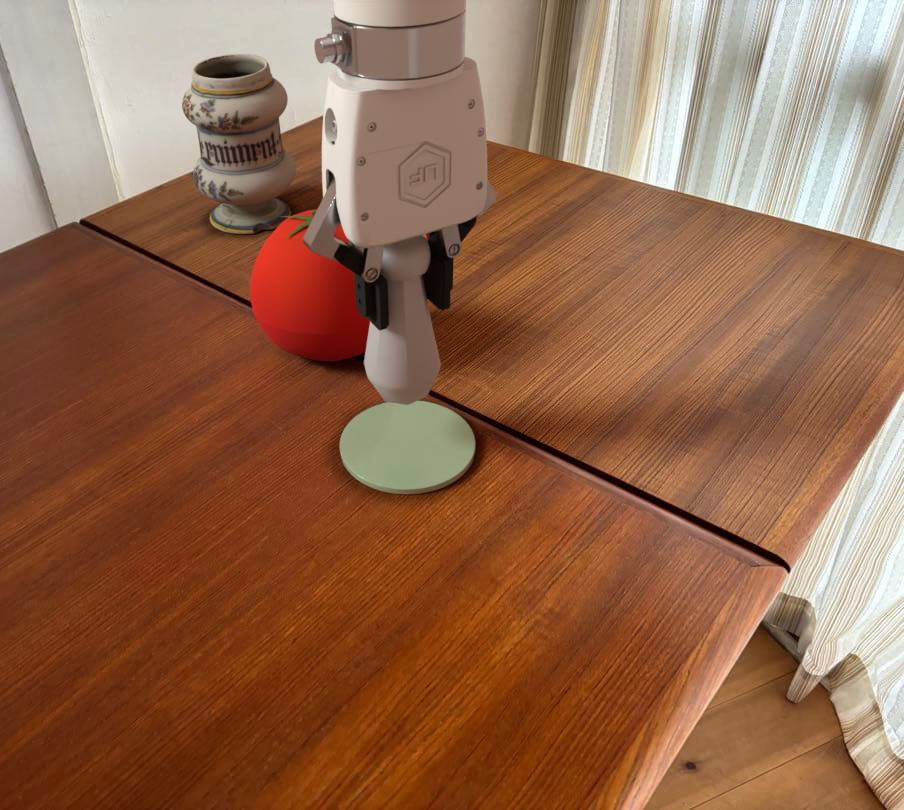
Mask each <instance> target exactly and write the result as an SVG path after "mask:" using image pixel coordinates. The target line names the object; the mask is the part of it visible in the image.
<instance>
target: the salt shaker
mask: <svg viewBox="0 0 904 810" xmlns="http://www.w3.org/2000/svg"><path fill="white" fill-rule="evenodd" d="M430 257H431V253H430V248H429V244H428V239H427V237H425V236H424V235H420V236H417V237H413V238H410V239H406V240H402V241H399V242H395V243H392V244H388V245H385V246H384V252H383V258H382V264H381V270H380V274H381V275H382V276H383V277H384V278H386V280H387V282H388V307H389V326H387V329H384V330H381V331H379V330H378V329H377V328H376V327H375V326H374V325H373V324H372V323H371V322H370V325H369V332H368V339H367V345H366V352H364V353H365V354H364V358H363V359H364V360H363V365H364V369H365V373H366V376H367V377H366V378H367V379H368V380H369V382H370V383H371V384H372V386H373V387H374V388H375V389H376V391H377V392H378V394H379V395H380V396H381V398H382V399H383V401H384V403H386V402H391V403H397V404H403V405H409V404H411V403H414V402H416V401H421V400H422V399H425V398H427V397H428V396H429V393H430V391H431V389H432V388H433V386H434V384H435V381H436V379H437V378H438V375H439V373H440V370H441V367H442V363H441V359H440V353H439V350H438V344H437V340H436V337H435V331H434V326H433V322H432V318H431V314H430V307H429V302H428V299H427V297H426V292H425V287H424V282H423V277H422V274H424V273H425V272H426V270H427V269H428V267H429V264H430Z"/></svg>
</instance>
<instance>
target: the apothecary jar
mask: <svg viewBox="0 0 904 810" xmlns="http://www.w3.org/2000/svg"><path fill="white" fill-rule="evenodd" d="M288 98H289V97H288V93H287V90H286V88H285V87H284V85H283V84H282V83H281V82H280V81H279V80H278V79H276V78H275V77H273V74H272V72H271V68H270V64H269V62H268V61H267V60H266V58H264V57H262V56H259V55H256V54H250V53H229V54H223V55H217V56H213V57H212V56H211V57H209V58H206V59H204V60H201V61H199V62H198V63H196V64H195V65H193V67H192V70H191V85H190V86H189V87H188V89H187V90H186V91H185V93H184V95H183V97H182V101H181V109H182V112H183V115H184V116H185V118H186V119H187V120H188V121H189V122H190V123H191V124H192V125H194V126H195V127H196V132H197V138H198V143H199V152H200V157H199V158H198V159H197V161H196V163H195V165H194V168H193V174H192V176H193V182H194V185H195V187H196V189H197V190H198V191H199V192H200V193H201V194H202V195H204V196H205V197H206V198H208V199H210V200H212V201H214V202H216V203H218V204H219V203H220V204H219V205H217V206H216V207H215V208H213V209H212V211H211V212H210V214H209V222H210V224H211V225H212V226H213V227H214V228H215V229H217V230H219V231H221V232H223V233H226V234H233V235H253V234H256V233H259V232H261V231H265V230H267V231H271V230H275V229H276V228H277V227H278V226H279V225H280V224H281V223H282V222H283V221H285V220H286V219H287V218H289V217H279V216H291V214H292V211H291V208H290V206H289V205H288V204H287V203H286V202H285V201H283V200H281V199H280V198H277V197H279V196H280V195H281V194H283V193H285V192H286V191H287V190H288V189H289V187H291V185H292V183H293V182H294V180H295V177H296V172H297V166H296V162H295V160H294V158H293V157H292V155H291V154H290V153H289V152H288V151H287V150H286V149H285V148H284V145H283V139H282V132H281V124H280V123H281V122H280V117H281V116H282V115H283V113H284V112H285V110H286V108H287V105H288V101H289V100H288Z"/></svg>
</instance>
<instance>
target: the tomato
mask: <svg viewBox="0 0 904 810" xmlns="http://www.w3.org/2000/svg"><path fill="white" fill-rule="evenodd" d="M317 209H318V208H316V209H309V210H305V211H301V212H299V213H296V214H293V215H290V216H279V217H289V218H287V219H286V220H285V221H283V222H282V223H281V224H280V225H279V226H278V227H277V228H275V229H274V231H272V233H271V234H269V236H268V237H267V238H266V240H265V241H264V242H263V245H262V247H261V249H260V251H259V252H258V255H257V257H256V259H255V262H254V266H253V268H252V272H251V276H250V285H249V286H250V287H249V299H250V303H251V308H252V312H253V316H254V317H255V320H256V322H257V324H258V326H259V327H260V329H261V330H262V332H263V333H264V334H265V335H266V337H267V338H268V339H269V340H270V341H271V342H272V343H273V344H274V345H276V346H277V347H278V348H280V349H281V350H282V351H284V352H287V353H288V354H290V355H294V356H296V357H301V358H304V359H309V360H313V361H320V362H336V361H342V360H347V359H351V358H354V357H357V356H360V355H363V354H364V353H365V352H366V345H367V339H368V332H369V325H370V321H369V320H368V319H367V318H366V317H363V316H362V315H361V314H360V313H359V312H358V310H357V307H356V299H355V282H354V272H352V271H351V270H349V269H348V268H346V267H345V266H343V265H342V264H340V263H339V262H337V261H335V260H331V259H328V258H325V257H323V256H320V255H318V254H315V253H313V252H312V251H311V250H310V249H309V248H308V247H307V246H306V245H305V244H304V243H303V237H304V235H305V233H306V231H307V229H308V227H309V225H310V223H311V221H312V219H313V217H314V215H315V213H316V211H317ZM334 238H340V239H342V240H343V241H345V242H346V243H348V240H349V239H347V237H346V236H345V233H344V231H343V228H342V225H339V226H338V228H337V230H336V232H335V234H334Z"/></svg>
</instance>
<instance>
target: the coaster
mask: <svg viewBox="0 0 904 810" xmlns="http://www.w3.org/2000/svg"><path fill="white" fill-rule="evenodd" d="M476 444H477V443H476V437H475V434H474V431H473V429H472V427H471V426H470V425H469V423H468V422H467V421H466V420H465V419H464V418H463V417H462V416H461V415H459V414H458V413H456V411H454V410H452V409H450V408H448V407H446V406H444V405H441V404H437V403H434V402H430V401H425V400H418V401H416V402H414V403H411V404H409V405H403V404H397V403H391V402H382V403H379V404H376V405H372V406H371V407H368V408H366V409H365V410H363V411H361V412H360V413H358V414H357V415H355V416H354V417H352V419H351V420H350V421H349V422H348V423H347V425H346V426H345V427H344V429H343V431H342V433H341V435H340V439H339V454H340V459H341V462H342V464H343V466H344V467H345V469H346V470H347V472H348V473H349V474H350V475H351V476H352V477H353V478H354V479H355V480H357V481H358V482H359V483H361V484H363V485H364V486H367V487H369V488H371V489H374V490H377V491H380V492H384V493H387V494H395V495H419V494H426V493H431V492H435V491H437V490H441V489H443V488H445V487H447V486H450V485H451V484H453V483H455V482H456V481H458V480H459V479H460V478H461V477H462V476H464V475H465V474H466V472H467V471H468V470H469V469H470V467H471V466H472V464H473V462H474V460H475V455H476Z"/></svg>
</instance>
